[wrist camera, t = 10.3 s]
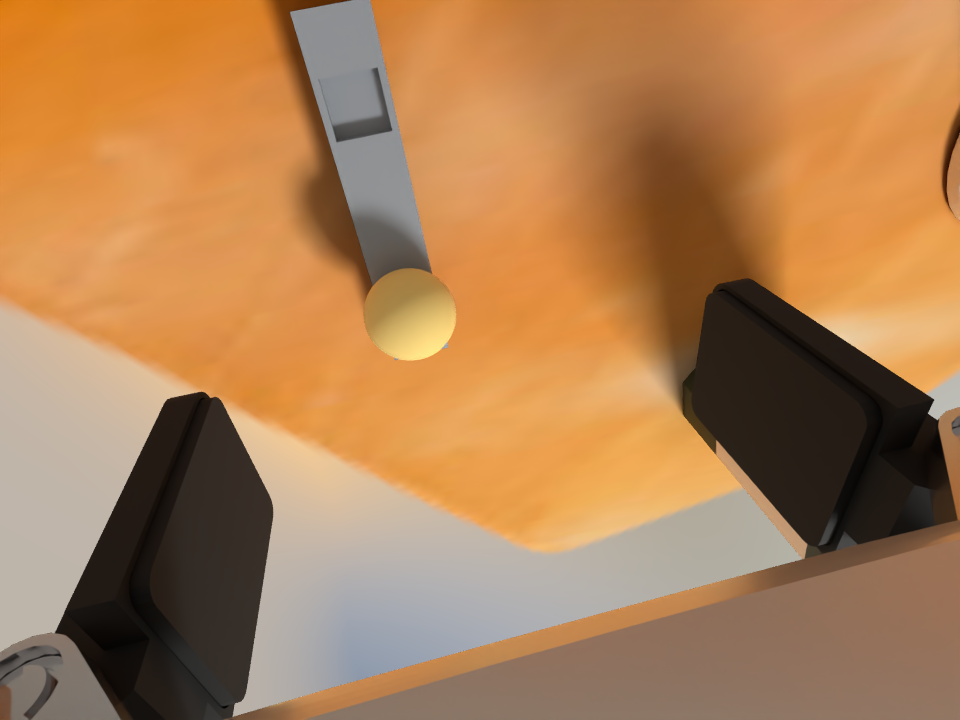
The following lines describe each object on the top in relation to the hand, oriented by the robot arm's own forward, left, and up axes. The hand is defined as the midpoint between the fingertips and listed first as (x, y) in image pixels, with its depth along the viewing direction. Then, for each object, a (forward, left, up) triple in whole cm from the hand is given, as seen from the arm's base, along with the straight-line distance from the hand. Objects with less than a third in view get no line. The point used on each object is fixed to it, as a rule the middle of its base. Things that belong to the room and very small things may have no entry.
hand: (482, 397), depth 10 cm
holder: (+1, +1, -18) cm, 18 cm away
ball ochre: (+1, +6, -17) cm, 18 cm away
